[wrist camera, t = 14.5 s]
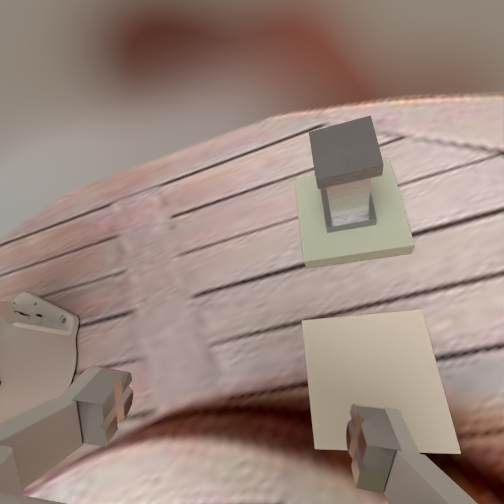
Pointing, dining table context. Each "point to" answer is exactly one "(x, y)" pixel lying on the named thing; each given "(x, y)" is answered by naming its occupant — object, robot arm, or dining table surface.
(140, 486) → the dining table surface
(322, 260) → the stand
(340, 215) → the post
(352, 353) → the stand
